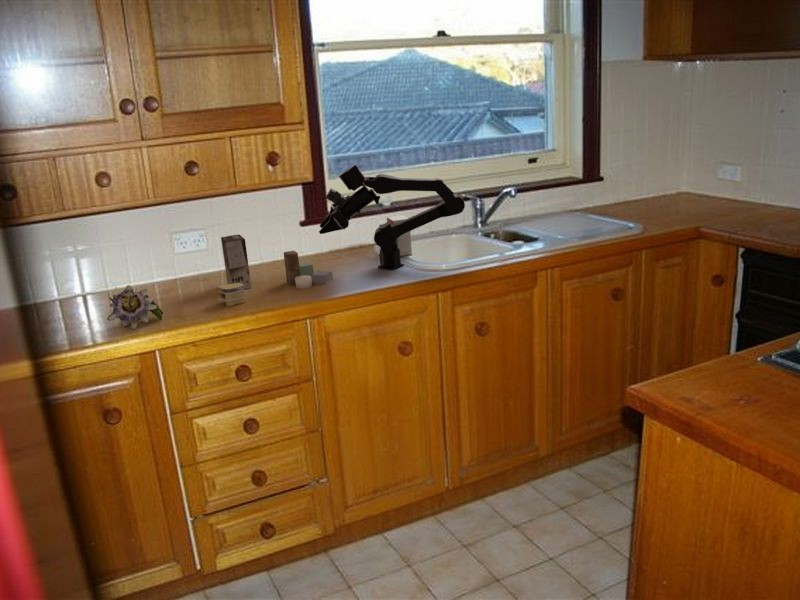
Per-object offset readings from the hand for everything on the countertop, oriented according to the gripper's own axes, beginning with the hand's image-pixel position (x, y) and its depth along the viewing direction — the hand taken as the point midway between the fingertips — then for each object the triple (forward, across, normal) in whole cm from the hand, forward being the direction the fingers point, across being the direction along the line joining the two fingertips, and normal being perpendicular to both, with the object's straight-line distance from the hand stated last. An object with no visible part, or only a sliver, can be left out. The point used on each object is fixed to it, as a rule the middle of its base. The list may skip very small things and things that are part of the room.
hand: (320, 229), depth 245 cm
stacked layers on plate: (+30, +27, -2) cm, 41 cm away
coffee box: (+31, +10, -2) cm, 32 cm away
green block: (+13, +2, +9) cm, 16 cm away
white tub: (+13, +16, +9) cm, 22 cm away
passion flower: (+52, +40, -16) cm, 67 cm away
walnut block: (+16, +11, +7) cm, 20 cm away
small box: (-15, -17, +27) cm, 36 cm away
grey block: (+8, +12, +12) cm, 19 cm away
